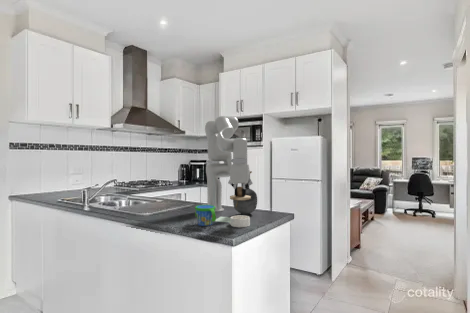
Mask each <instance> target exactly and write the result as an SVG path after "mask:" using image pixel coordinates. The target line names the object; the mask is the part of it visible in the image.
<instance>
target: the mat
mask: <svg viewBox="0 0 470 313" xmlns="http://www.w3.org/2000/svg"><path fill="white" fill-rule="evenodd" d="M230 217H231V216H230ZM230 217H228V216H219V217H218V218H217V217H216V220H215V221H214V222H217V223H218V222H220V223H229V224H230Z"/></svg>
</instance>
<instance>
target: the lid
mask: <svg viewBox="0 0 470 313" xmlns="http://www.w3.org/2000/svg"><path fill="white" fill-rule="evenodd" d="M242 189H243V187H241V186H238V187H237V197H235V195H234V194H233V195H230V196H229V200H232V201H233V200H249V199H251V196H248V195H245V196H244V197H242Z"/></svg>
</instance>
